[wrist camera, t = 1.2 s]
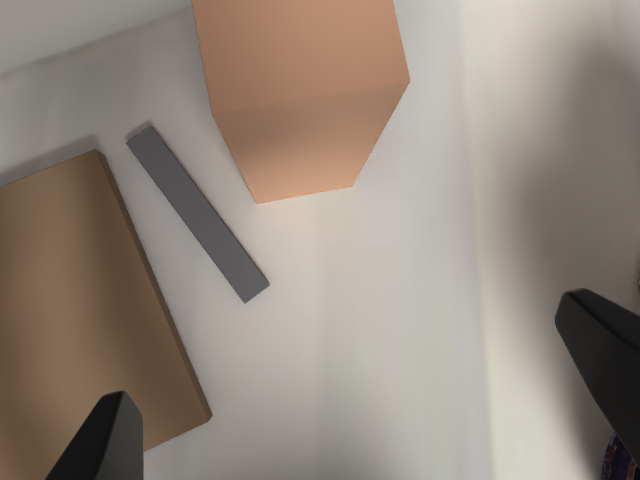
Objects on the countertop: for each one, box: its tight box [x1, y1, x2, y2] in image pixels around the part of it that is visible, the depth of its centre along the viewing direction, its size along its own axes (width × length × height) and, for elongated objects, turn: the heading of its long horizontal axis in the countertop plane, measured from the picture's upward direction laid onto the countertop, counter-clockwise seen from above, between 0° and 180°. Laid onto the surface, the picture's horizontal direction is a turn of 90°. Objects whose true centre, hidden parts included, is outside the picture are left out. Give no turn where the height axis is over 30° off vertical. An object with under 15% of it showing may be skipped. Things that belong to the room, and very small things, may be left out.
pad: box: [0, 149, 212, 480], centre depth 21 cm, size 14×14×1 cm
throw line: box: [126, 126, 270, 303], centre depth 22 cm, size 10×2×1 cm, turn 37°
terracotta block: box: [192, 0, 410, 204], centre depth 17 cm, size 5×5×12 cm
